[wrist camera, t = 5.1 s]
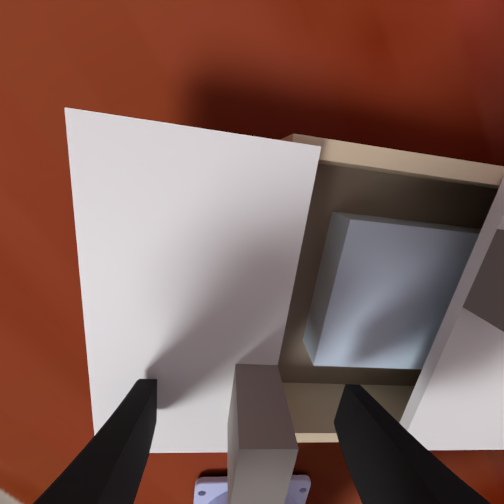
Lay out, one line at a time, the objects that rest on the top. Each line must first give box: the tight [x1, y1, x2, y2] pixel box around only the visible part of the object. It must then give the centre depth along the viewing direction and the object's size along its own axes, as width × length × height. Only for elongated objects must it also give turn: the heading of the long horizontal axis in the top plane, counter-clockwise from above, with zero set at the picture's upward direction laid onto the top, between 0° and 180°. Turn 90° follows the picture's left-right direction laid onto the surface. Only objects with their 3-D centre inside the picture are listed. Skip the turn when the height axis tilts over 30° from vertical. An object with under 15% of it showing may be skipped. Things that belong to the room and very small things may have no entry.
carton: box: [278, 134, 504, 442], centre depth 12 cm, size 13×14×4 cm
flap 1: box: [65, 108, 321, 504], centre depth 8 cm, size 12×7×4 cm, turn 173°
